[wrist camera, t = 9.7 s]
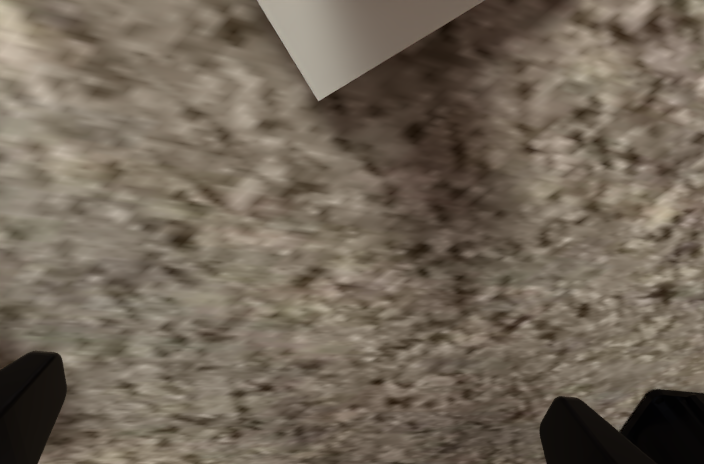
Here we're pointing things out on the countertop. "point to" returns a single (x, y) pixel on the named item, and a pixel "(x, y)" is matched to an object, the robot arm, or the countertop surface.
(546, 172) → the countertop surface
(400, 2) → the plinth
